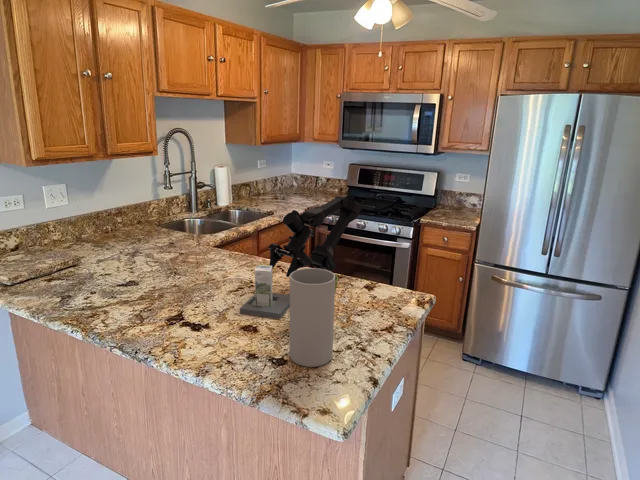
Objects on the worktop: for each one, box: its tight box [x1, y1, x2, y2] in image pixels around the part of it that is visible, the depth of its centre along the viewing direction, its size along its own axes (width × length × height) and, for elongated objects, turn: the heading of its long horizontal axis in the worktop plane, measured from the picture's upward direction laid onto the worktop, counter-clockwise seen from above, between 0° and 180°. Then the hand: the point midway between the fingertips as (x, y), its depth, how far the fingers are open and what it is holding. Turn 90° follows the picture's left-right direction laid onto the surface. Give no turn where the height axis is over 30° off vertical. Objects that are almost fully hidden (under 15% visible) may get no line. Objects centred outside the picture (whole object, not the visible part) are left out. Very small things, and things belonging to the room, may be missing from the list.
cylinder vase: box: [289, 267, 336, 368], centre depth 121 cm, size 12×12×25 cm
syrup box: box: [254, 264, 273, 307], centre depth 155 cm, size 6×6×14 cm
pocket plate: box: [239, 292, 290, 320], centre depth 155 cm, size 15×16×2 cm
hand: (278, 273), depth 159 cm, fingers open, 9 cm apart
